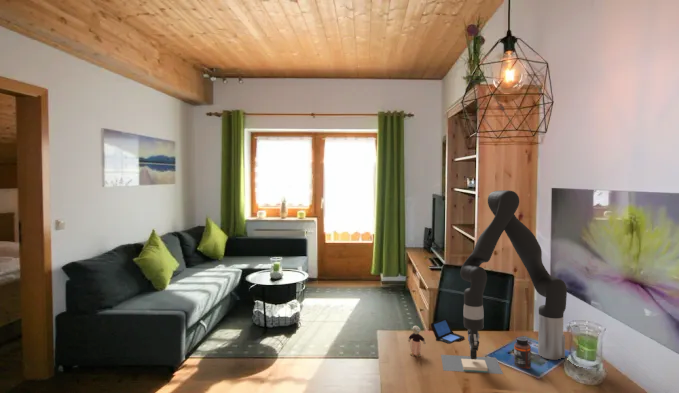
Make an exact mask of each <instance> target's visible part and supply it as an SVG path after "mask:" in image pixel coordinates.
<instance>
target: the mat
mask: <svg viewBox="0 0 679 393" xmlns="http://www.w3.org/2000/svg"><path fill="white" fill-rule="evenodd" d="M440 357H441V364H442V370H443V372H444V371H445V372H446V371H447V372H462V373H463V372H464V373H477V374H491V375H492V374H493V375H494V374H495V375H504V372H503V370H502V368H501V366H500V364H499V362H498V359H497V357H491V356H489V357H487V356H477V360H485V362H486V365H487V367H488V371H487V372H478V371H463V367H462V363H461V359H471V357H470V355H469V356H468V355H455V354H454V355H452V354H440Z"/></svg>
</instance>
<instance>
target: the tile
mask: <svg viewBox="0 0 679 393" xmlns="http://www.w3.org/2000/svg"><path fill="white" fill-rule="evenodd" d="M461 363H462V367H463V371H478V372H487V371H488V367H487V365H486V362H485V360H477V359H461Z"/></svg>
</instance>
